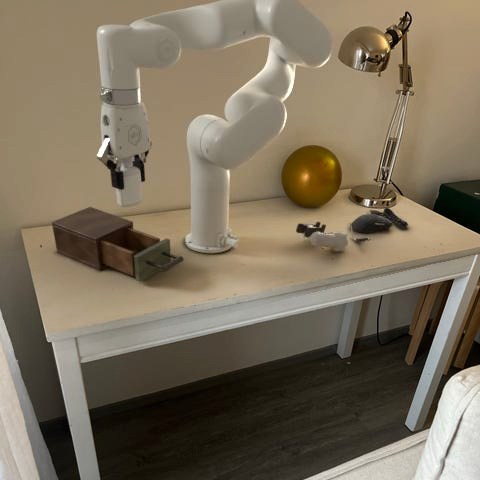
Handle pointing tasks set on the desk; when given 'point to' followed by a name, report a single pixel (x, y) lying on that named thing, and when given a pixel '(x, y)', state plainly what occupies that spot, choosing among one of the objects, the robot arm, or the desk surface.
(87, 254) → the cabinet
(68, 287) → the desk surface
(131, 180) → the eye dropper bottle
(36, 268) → the desk surface
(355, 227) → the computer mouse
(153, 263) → the drawer
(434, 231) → the desk surface
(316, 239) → the clip-on lamp
